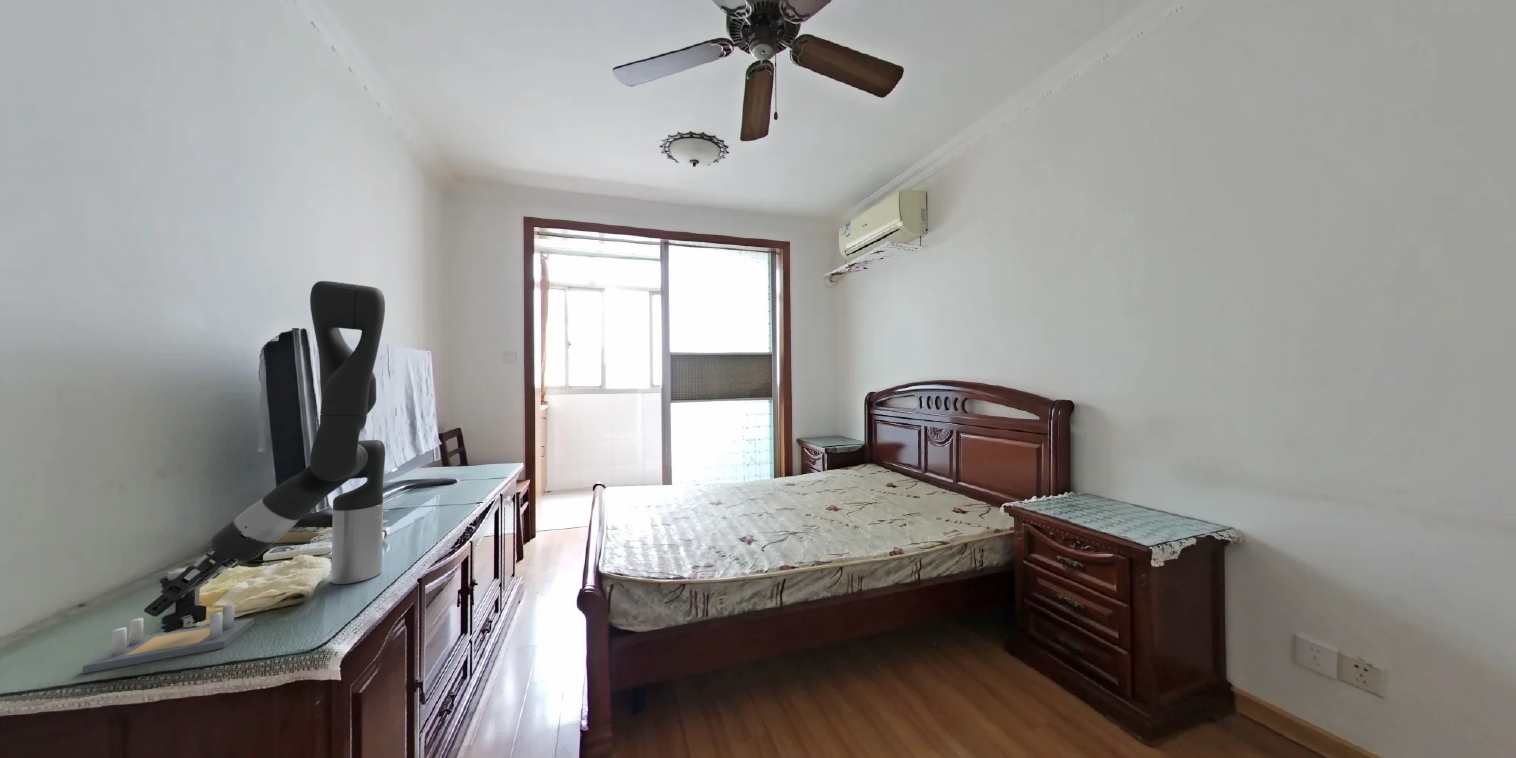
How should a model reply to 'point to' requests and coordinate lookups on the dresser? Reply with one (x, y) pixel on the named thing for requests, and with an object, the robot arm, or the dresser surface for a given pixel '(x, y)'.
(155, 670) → the dresser surface
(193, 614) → the push button
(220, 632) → the pin tray
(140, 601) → the dresser surface
